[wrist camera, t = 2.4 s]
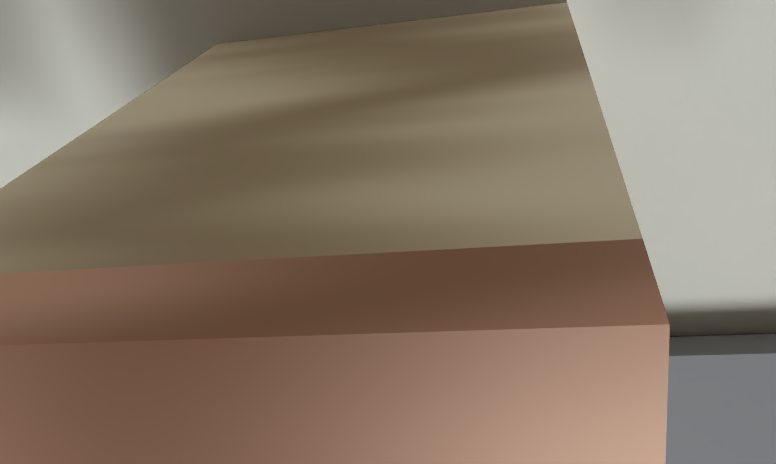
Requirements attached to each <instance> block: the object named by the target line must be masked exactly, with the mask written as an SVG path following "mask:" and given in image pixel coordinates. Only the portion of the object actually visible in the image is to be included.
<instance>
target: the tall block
mask: <svg viewBox="0 0 776 464" xmlns="http://www.w3.org/2000/svg"><path fill="white" fill-rule="evenodd" d="M669 336H670V323H669V320H668V317H667V314H666V311H665V308H664V304H663V301H662V298H661V295H660V292H659V289H658V286H657V283H656V279H655V276H654V273H653V270H652V267H651V264H650V261H649V258H648V254H647V251H646V248H645V245H644V242H643V239H642V236H641V232H640V229H639V226H638V223H637V220H636V217H635V214H634V211H633V207H632V204H631V201H630V198H629V195H628V192H627V189H626V186H625V182H624V179H623V176H622V173H621V170H620V167H619V164H618V161H617V157H616V154H615V151H614V148H613V145H612V142H611V139H610V135H609V132H608V129H607V126H606V123H605V120H604V117H603V114H602V110H601V107H600V104H599V101H598V98H597V95H596V92H595V89H594V85H593V82H592V79H591V76H590V73H589V70H588V67H587V64H586V60H585V57H584V54H583V51H582V48H581V45H580V42H579V39H578V35H577V32H576V29H575V26H574V23H573V20H572V17H571V13H570V10H569V7H568V4H567V2H566V3H558V4H549V5H541V6H532V7H524V8H515V9H507V10H498V11H490V12H482V13H473V14H465V15H456V16H448V17H439V18H431V19H422V20H414V21H406V22H397V23H389V24H380V25H372V26H363V27H355V28H346V29H338V30H330V31H321V32H313V33H304V34H296V35H287V36H279V37H270V38H262V39H253V40H245V41H237V42H228V43H220V44H216V45H215V46H213V47H212V48H210V49H209V50H207V51H206V52H204V53H203V54H201V55H200V56H198V57H197V58H195V59H194V60H192V61H191V62H189V63H188V64H186V65H185V66H183V67H182V68H180V69H179V70H177V71H176V72H174V73H173V74H171V75H170V76H168V77H167V78H165V79H164V80H162V81H161V82H159V83H158V84H156V85H155V86H153V87H152V88H150V89H149V90H147V91H146V92H144V93H143V94H141V95H140V96H138V97H137V98H135V99H134V100H132V101H131V102H129V103H128V104H126V105H125V106H123V107H122V108H120V109H119V110H117V111H116V112H114V113H113V114H111V115H110V116H108V117H107V118H105V119H104V120H102V121H101V122H99V123H98V124H96V125H95V126H94V127H92V128H91V129H89V130H88V131H86V132H85V133H83V134H82V135H80V136H79V137H77V138H76V139H74V140H73V141H71V142H70V143H68V144H67V145H65V146H64V147H62V148H61V149H59V150H58V151H56V152H55V153H53V154H52V155H50V156H49V157H47V158H46V159H44V160H43V161H41V162H40V163H38V164H37V165H35V166H34V167H32V168H31V169H29V170H28V171H26V172H25V173H23V174H22V175H20V176H19V177H17V178H16V179H14V180H13V181H11V182H10V183H8V184H7V185H5V186H4V187H2V188H1V189H0V464H666V432H667V400H668V368H669Z"/></svg>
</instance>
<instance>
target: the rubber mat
mask: <svg viewBox="0 0 776 464" xmlns="http://www.w3.org/2000/svg"><path fill="white" fill-rule="evenodd" d="M666 464H776V334H751V335H720V336H688V337H669V368H668V400H667V432H666Z"/></svg>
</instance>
